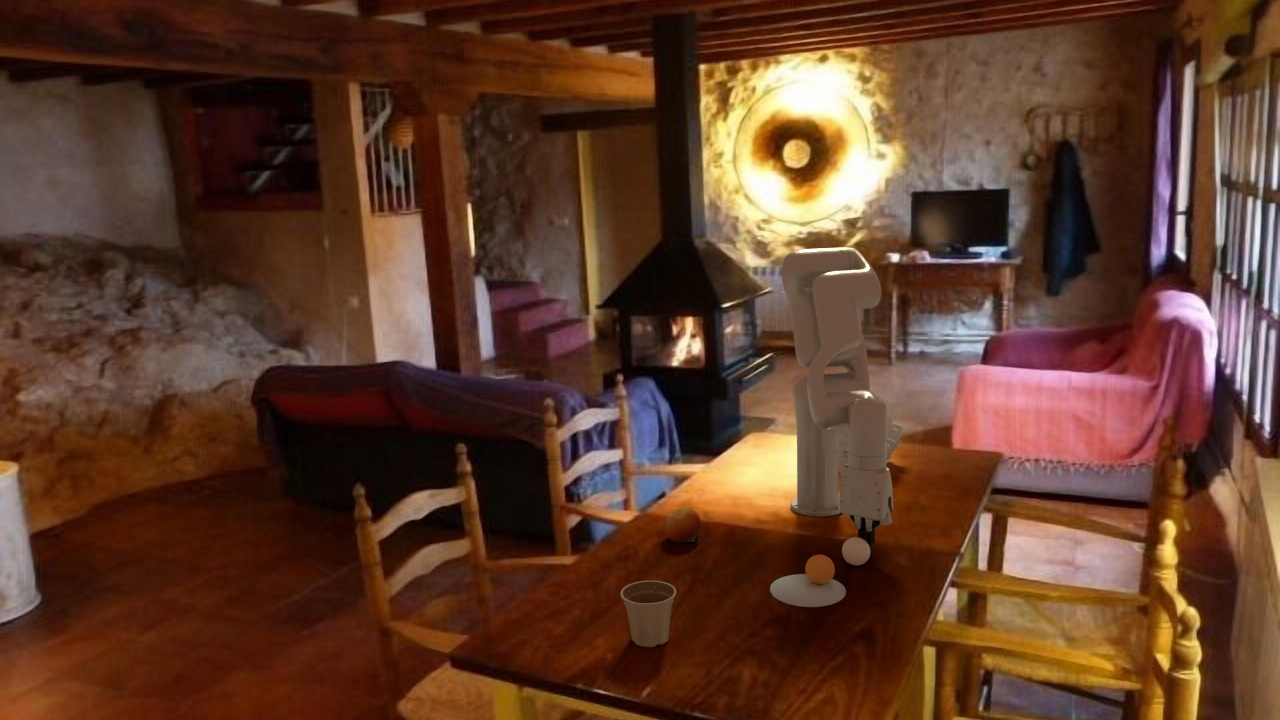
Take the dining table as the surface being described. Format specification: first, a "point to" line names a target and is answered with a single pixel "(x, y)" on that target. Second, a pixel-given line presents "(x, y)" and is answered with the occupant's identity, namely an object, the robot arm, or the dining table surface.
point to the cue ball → (856, 551)
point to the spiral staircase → (892, 433)
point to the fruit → (682, 525)
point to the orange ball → (820, 569)
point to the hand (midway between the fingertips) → (866, 546)
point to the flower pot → (649, 611)
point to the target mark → (806, 591)
